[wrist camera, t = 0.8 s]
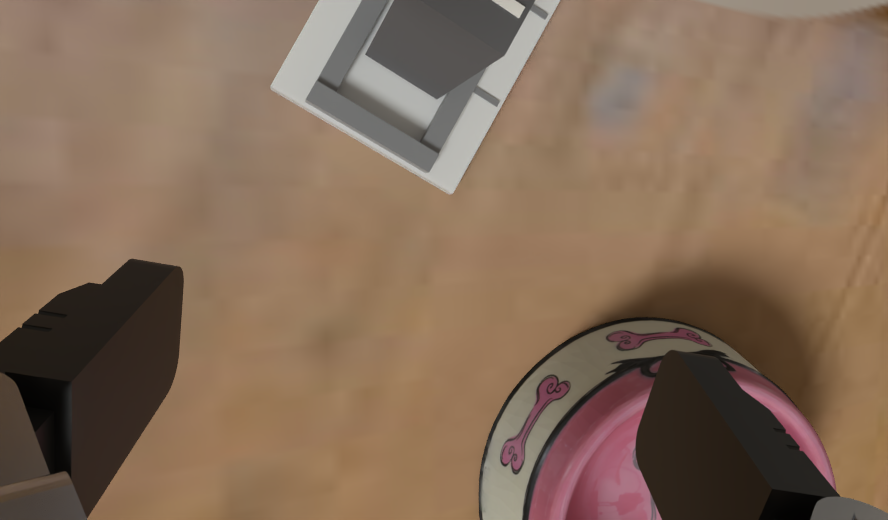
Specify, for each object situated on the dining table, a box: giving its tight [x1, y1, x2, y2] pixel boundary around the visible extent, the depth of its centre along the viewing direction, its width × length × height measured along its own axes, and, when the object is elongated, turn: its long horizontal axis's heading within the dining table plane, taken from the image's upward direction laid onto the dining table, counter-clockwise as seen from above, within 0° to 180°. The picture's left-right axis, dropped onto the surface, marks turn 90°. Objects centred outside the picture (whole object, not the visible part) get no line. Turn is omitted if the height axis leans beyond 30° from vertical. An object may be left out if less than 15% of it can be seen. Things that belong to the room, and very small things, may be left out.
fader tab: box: [365, 0, 535, 99], centre depth 28 cm, size 3×4×11 cm
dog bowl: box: [479, 317, 836, 520], centre depth 36 cm, size 18×19×7 cm
